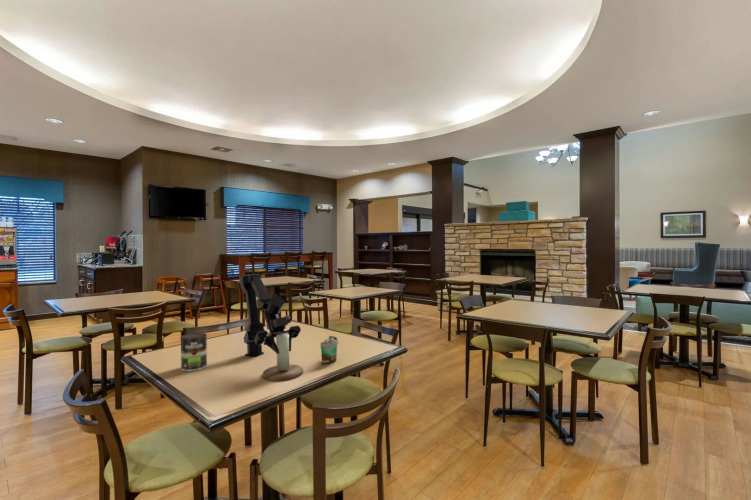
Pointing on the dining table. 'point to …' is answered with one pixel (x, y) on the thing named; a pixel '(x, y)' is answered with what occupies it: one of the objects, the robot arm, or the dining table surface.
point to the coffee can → (193, 351)
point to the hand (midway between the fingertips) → (284, 352)
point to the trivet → (283, 373)
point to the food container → (329, 350)
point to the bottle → (283, 351)
